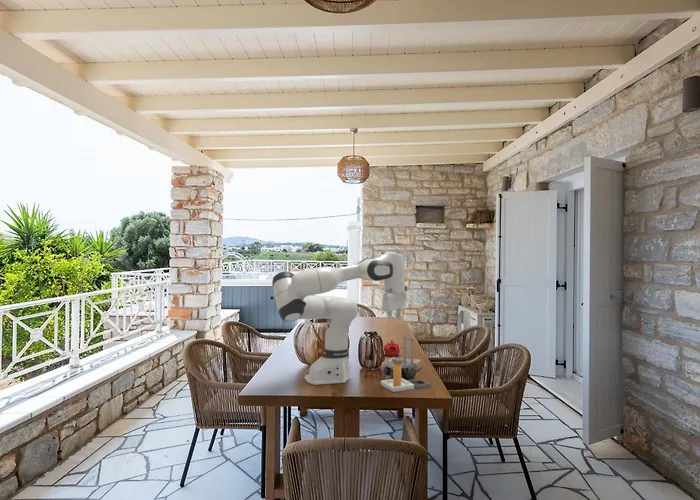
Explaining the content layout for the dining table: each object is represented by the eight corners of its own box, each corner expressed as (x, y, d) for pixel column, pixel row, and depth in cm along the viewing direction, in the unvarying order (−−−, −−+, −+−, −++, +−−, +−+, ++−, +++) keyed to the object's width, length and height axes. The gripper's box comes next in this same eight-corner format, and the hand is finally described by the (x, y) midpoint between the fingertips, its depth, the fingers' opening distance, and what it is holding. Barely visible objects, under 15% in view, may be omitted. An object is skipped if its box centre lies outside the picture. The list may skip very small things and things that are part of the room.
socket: (416, 389, 176) (416, 385, 176) (407, 384, 182) (407, 381, 182) (430, 387, 179) (430, 383, 179) (421, 382, 185) (421, 379, 185)
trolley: (392, 381, 186) (392, 341, 187) (383, 376, 195) (383, 337, 195) (416, 378, 192) (415, 339, 192) (406, 373, 200) (405, 335, 200)
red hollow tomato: (379, 355, 236) (379, 340, 236) (391, 353, 243) (391, 337, 243) (391, 358, 229) (391, 342, 229) (403, 355, 235) (403, 339, 235)
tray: (392, 392, 171) (392, 387, 171) (380, 385, 181) (380, 380, 182) (414, 389, 176) (414, 384, 176) (401, 382, 186) (401, 377, 186)
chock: (387, 382, 185) (387, 377, 185) (385, 381, 187) (385, 375, 187) (392, 382, 186) (392, 376, 186) (389, 380, 188) (389, 375, 188)
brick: (387, 368, 210) (387, 359, 210) (391, 364, 217) (391, 355, 217) (417, 372, 203) (417, 363, 203) (421, 368, 211) (421, 359, 211)
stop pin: (394, 388, 176) (394, 360, 176) (390, 384, 180) (390, 358, 180) (404, 387, 177) (404, 360, 177) (399, 383, 182) (400, 357, 182)
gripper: (392, 290, 164) (392, 323, 164) (408, 286, 182) (408, 316, 182) (378, 289, 167) (378, 322, 167) (395, 286, 185) (395, 315, 185)
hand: (394, 319), depth 175 cm, fingers open, 8 cm apart
